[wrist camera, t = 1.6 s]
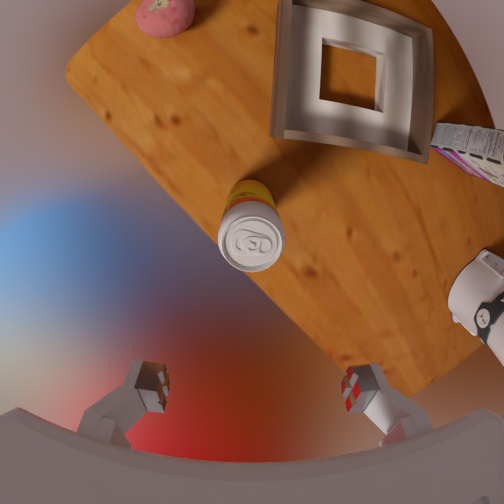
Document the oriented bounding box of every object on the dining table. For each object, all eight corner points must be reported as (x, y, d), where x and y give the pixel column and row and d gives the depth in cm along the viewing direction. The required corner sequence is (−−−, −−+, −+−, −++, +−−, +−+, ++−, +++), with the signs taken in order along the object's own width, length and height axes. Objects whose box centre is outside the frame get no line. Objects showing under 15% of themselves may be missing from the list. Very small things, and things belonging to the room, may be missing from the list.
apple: (158, 1, 23) (140, -21, 16) (206, 5, 24) (197, -20, 17) (140, 42, 26) (117, 26, 19) (188, 48, 27) (174, 29, 20)
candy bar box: (474, 149, 33) (542, 172, 18) (467, 174, 35) (533, 203, 20) (435, 119, 31) (511, 129, 16) (427, 146, 33) (503, 167, 18)
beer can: (230, 175, 35) (220, 207, 22) (275, 182, 36) (293, 217, 22) (225, 217, 38) (213, 271, 25) (267, 223, 39) (279, 279, 25)
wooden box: (406, 39, 25) (431, 29, 19) (401, 156, 34) (427, 164, 28) (277, 6, 25) (283, -16, 18) (269, 136, 33) (274, 137, 27)
